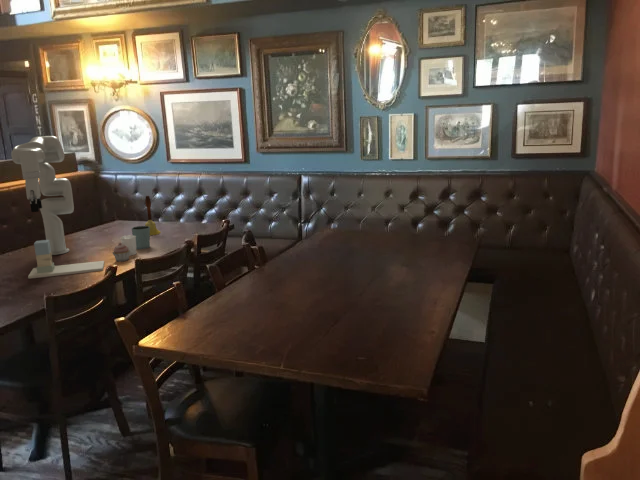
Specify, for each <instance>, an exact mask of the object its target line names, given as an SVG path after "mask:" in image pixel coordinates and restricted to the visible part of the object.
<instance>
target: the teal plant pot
mask: <svg viewBox="0 0 640 480" xmlns="http://www.w3.org/2000/svg"><path fill="white" fill-rule="evenodd" d="M131 233H132V235H133V236H136V250H144V249H149V248H150V247H151V241H150V240H151V238H150V237H151V235H150V227H149V226H145V225H137V226H133V227H131ZM149 235H150V236H149Z"/></svg>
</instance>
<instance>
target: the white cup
mask: <svg viewBox="0 0 640 480" xmlns="http://www.w3.org/2000/svg"><path fill="white" fill-rule="evenodd" d="M120 241H121V242H120V243H123V244H125V245H126V246H127V247H128V250H130V254H129V257H130V256H135V255H137V249H136V236H133V234H132V235H124V236H121V237H120Z"/></svg>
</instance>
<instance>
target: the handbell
mask: <svg viewBox="0 0 640 480" xmlns="http://www.w3.org/2000/svg"><path fill="white" fill-rule="evenodd" d="M144 202H145V208H146V213H147V222H145V224H144V226H149V227H150V235H149V236H150V237H151V236H157V235H160V234H161V233H162V232H161V231H160V230H159V229H158V228H157V226H156V222H155V221H153V219H152V212H151V210H152V209H151V207H152V202H151V196H149V195H145V199H144Z"/></svg>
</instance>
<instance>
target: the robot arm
mask: <svg viewBox="0 0 640 480" xmlns="http://www.w3.org/2000/svg"><path fill="white" fill-rule="evenodd" d="M10 156H11V159H12V161H13V163H15V164H16V165H20V166H21V174H22V179H23V180H24V181H25V182H24V183H25V191H26V192H25V193H26V198H27V200H29V205H30V212H31V213H37V212H39V211H40V213H41V217H42V222H43V226H44V234H45V240H49V241H50V248H51V255H52V256H57V255H63V254H67V253H69V252H70V248H68V247H66V240H65V232H64V224H63V221H62V219H61V218H60V217H59V216H58V215H69V214H72V213H74V209H75V206H74V205H75V204H74V197H73V196H74V195H73V190H72V189H73V188H72V183H71V181H70V180H69V179H68V178H65V177H61V178H56V177H57V176H56V170H55V168H54V167H53V165H51V164H52V163H61V162H63V161H64V160H65V152H64V149H63V146H62V144H61V141H60V139H59V138H58V137H57V136H54V135H45V136H44V135H43V136H41V135H40V136H33V137H32V138H31V139H30V140H29V142H25V143H22V144H18V145H16V146H14V147H13V149H12V151H11V155H10ZM50 163H51V164H50ZM41 195H43V196H46V197H48V198H44V199H41ZM52 196H54V197H52ZM55 196H63V197H55Z"/></svg>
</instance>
